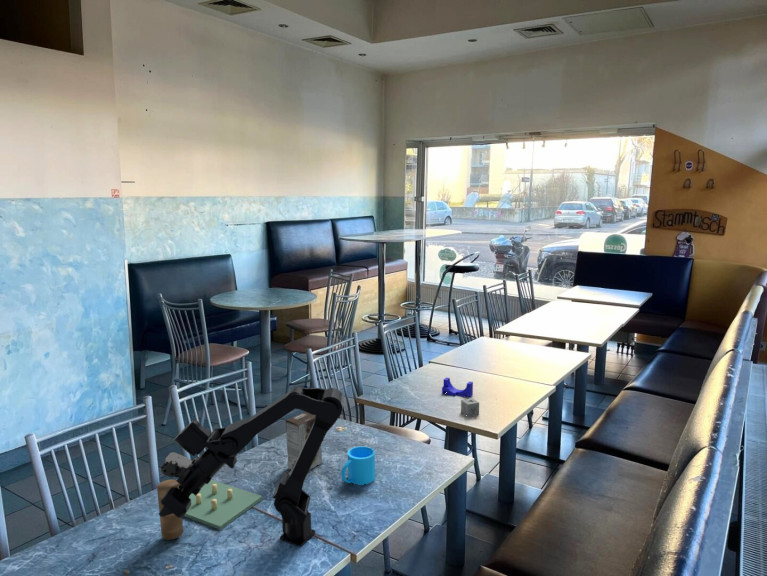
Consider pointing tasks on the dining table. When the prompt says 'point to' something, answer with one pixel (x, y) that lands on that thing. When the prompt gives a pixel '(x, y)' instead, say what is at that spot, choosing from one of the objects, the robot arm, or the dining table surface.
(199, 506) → the standoff plate
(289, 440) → the coffee box
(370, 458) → the mug
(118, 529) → the dining table surface
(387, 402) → the dining table surface
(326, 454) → the dining table surface
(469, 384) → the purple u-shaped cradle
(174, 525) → the walnut cylinder
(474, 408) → the dice cube
